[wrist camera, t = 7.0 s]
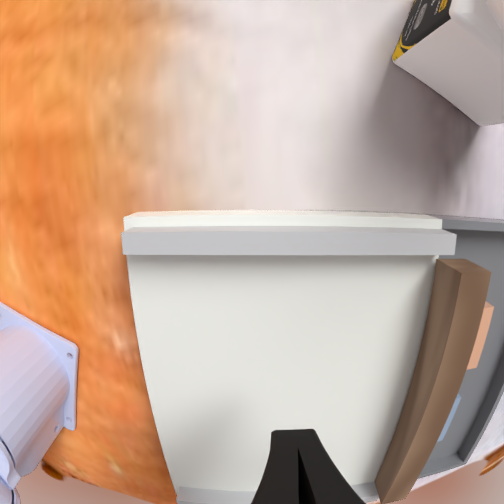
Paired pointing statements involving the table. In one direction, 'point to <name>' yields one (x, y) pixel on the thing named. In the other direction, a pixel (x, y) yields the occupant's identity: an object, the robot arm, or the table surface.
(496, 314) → the box
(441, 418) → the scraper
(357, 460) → the white rimmed panel
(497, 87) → the medicine bottle
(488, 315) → the tile
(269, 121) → the table surface
